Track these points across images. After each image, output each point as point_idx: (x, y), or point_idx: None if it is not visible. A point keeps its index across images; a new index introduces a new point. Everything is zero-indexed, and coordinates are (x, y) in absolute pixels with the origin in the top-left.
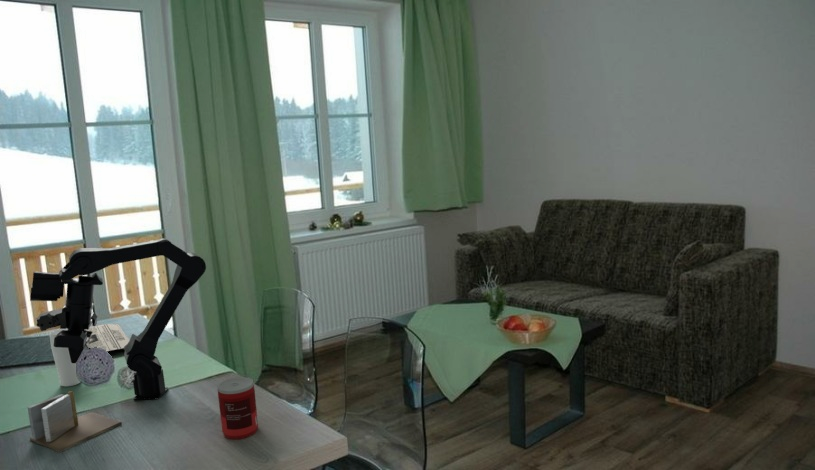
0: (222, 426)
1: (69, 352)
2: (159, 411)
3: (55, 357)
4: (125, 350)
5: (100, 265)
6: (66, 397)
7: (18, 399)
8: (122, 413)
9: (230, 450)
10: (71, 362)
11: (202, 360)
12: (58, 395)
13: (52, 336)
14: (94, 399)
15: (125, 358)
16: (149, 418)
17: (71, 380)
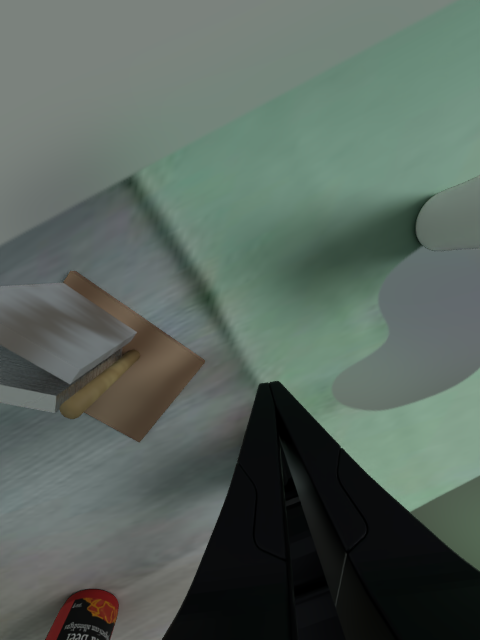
0: (60, 620)
1: (239, 456)
2: (192, 483)
3: None
4: (314, 598)
5: None
6: (34, 408)
7: (373, 89)
8: (196, 421)
9: (29, 607)
10: (259, 385)
11: (444, 484)
12: (66, 365)
13: None
14: (295, 333)
15: (301, 540)
16: (162, 476)
17: (430, 232)
